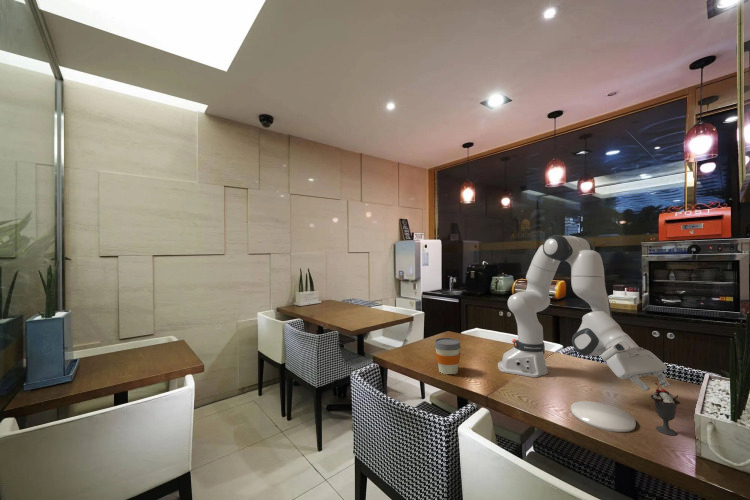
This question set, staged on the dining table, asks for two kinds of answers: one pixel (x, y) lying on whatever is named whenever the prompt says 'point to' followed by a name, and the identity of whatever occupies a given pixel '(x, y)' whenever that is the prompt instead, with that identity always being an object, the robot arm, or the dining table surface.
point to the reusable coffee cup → (447, 355)
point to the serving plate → (603, 416)
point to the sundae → (665, 409)
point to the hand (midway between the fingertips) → (657, 388)
